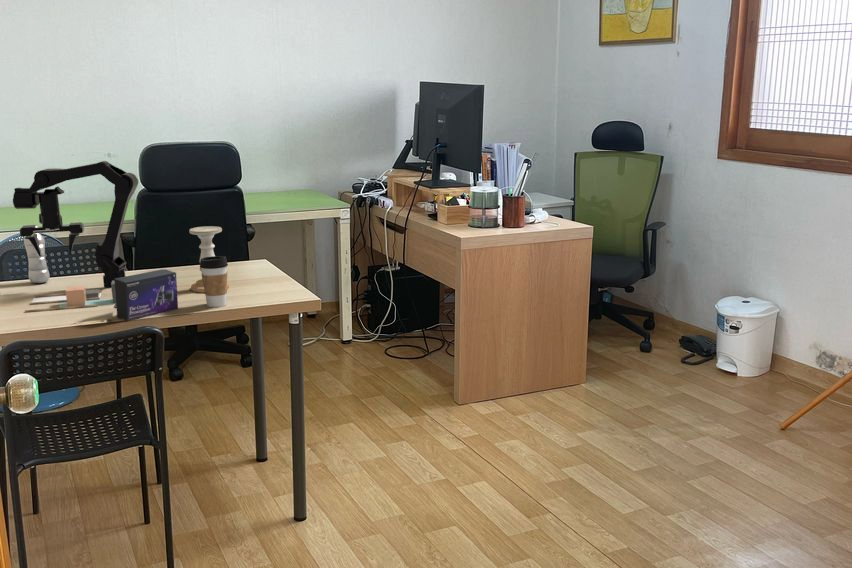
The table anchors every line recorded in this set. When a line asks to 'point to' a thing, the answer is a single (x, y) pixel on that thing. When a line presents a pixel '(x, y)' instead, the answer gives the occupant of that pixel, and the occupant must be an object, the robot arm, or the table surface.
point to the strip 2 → (100, 302)
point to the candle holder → (205, 249)
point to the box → (146, 294)
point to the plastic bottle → (37, 261)
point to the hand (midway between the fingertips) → (55, 255)
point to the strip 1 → (89, 294)
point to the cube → (76, 296)
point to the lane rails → (59, 302)
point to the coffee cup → (215, 280)
